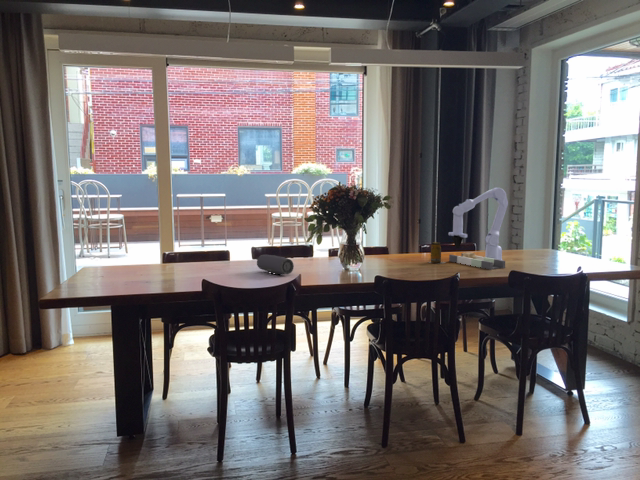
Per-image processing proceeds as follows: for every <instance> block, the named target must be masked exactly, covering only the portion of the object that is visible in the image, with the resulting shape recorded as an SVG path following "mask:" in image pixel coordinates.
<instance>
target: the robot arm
mask: <svg viewBox="0 0 640 480" xmlns="http://www.w3.org/2000/svg"><path fill="white" fill-rule="evenodd" d="M486 199H494V200H496V202H497V204H498V205H497V209H496V211H495V215H494V218H493V222H492V224H491V227H490V230H489V231H488V233H487V235H486V236H485V239H484V241H485V243H486V244H485V253H484V254H485V256H484V257H487V258H493V259H498V260H503V250H502V249H503V248H502V247H501V246H500V245H499V243H500V239H499V237H500V232H501V231H500V230H501V226H502V224H503V221H504V218H505V215H506V212H507V209H508V205H509V200H508V195H507V192H506V191H505V190H504V189H503V188H501V187H492V189H489V190H487V191H485V192H483V193H481V194H480V195H478V196H477V197H475V198H473V199H470V198H469V199H468V198H467V199H465V201H464V202H461V203H458V205H456V206H454V207H453V209H452V213H453V218H452V219H453V220H452V231H449V232H448V236H450V237H451V239H452V241H453V244H454V247H455V249H460V248H461V244H462V242H463V240H464V238H465V239H466V238H468V233H463V231H464V230H463V229H464V213H467V212H469V211H470V210H472V209H474V208H475V206H476V205H477V204H479V203H481V202H482V201H485V200H486Z"/></svg>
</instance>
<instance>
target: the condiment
mask: <svg viewBox="0 0 640 480" xmlns="http://www.w3.org/2000/svg"><path fill="white" fill-rule="evenodd" d="M428 263H430V264H438V265H441V264H446V263H447V262H446V261H445V262H444V261H442V247H441V242H437V241H434V242H431V247H430V261H428Z"/></svg>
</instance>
